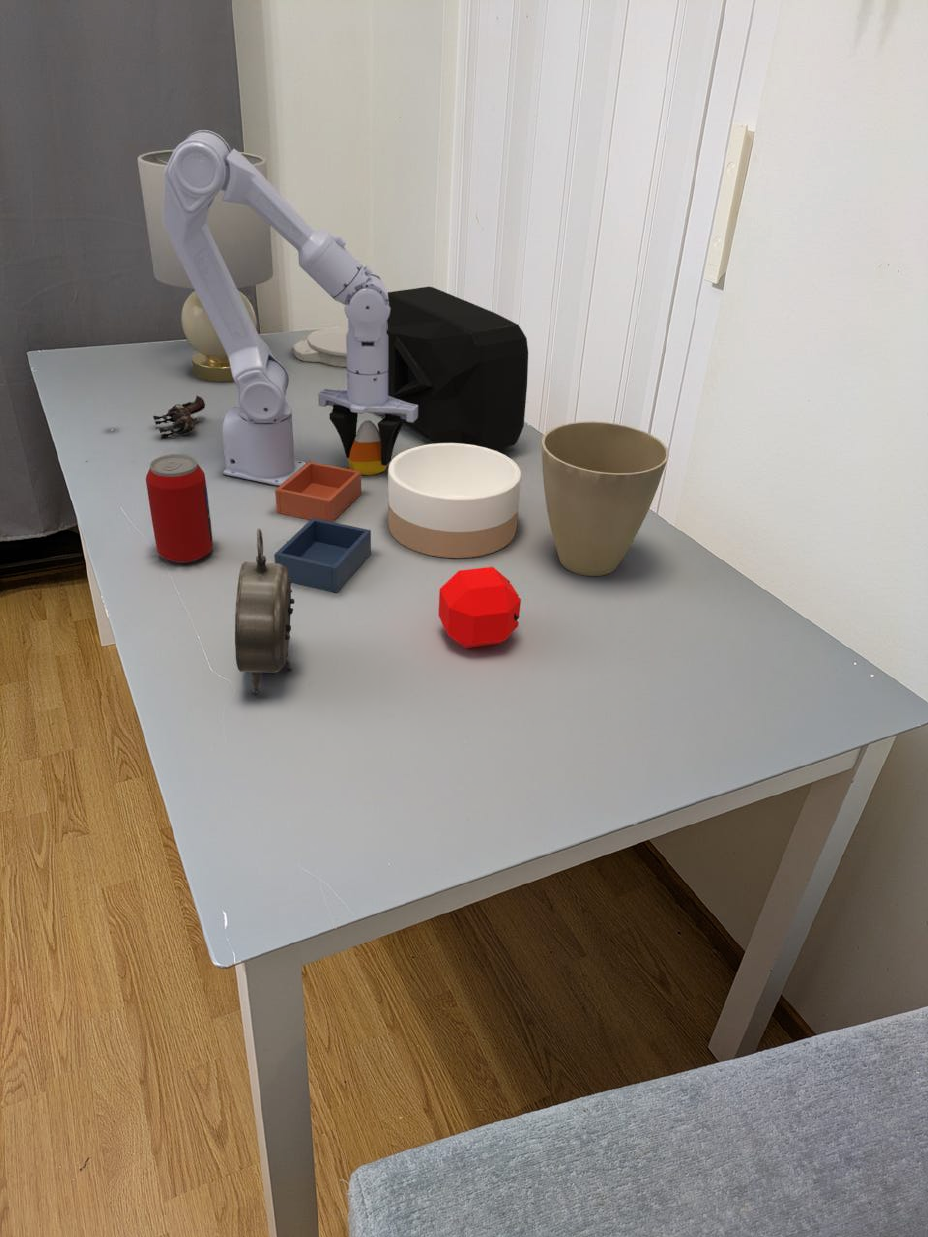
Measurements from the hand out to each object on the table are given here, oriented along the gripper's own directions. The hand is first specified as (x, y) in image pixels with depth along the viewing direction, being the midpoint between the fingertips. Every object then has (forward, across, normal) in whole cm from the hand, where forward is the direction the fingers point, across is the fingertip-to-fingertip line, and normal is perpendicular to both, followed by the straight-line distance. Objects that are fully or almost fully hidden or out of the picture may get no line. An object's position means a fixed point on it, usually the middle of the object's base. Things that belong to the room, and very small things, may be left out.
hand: (368, 459), depth 134 cm
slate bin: (+2, +6, -27) cm, 28 cm away
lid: (+2, -26, +47) cm, 54 cm away
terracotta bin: (+2, -2, -12) cm, 12 cm away
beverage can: (+2, -11, -31) cm, 33 cm away
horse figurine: (+2, -35, 0) cm, 35 cm away
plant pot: (+2, +36, -13) cm, 38 cm away
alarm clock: (+2, +10, -48) cm, 49 cm away
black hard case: (+2, +4, +19) cm, 19 cm away
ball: (+2, +28, -34) cm, 44 cm away
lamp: (+2, -41, +28) cm, 50 cm away
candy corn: (+2, 0, 0) cm, 2 cm away
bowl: (+2, +17, -11) cm, 20 cm away
